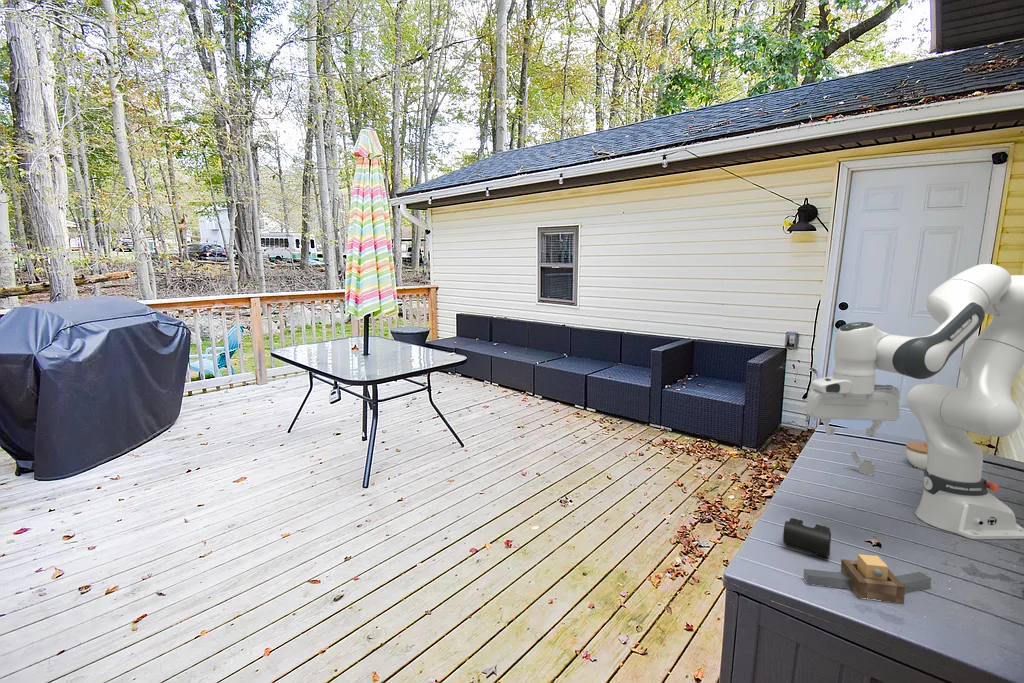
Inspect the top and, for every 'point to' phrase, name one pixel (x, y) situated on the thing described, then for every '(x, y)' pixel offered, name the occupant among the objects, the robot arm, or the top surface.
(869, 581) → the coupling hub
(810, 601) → the top surface
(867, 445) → the top surface
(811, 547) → the end cap
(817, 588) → the top surface
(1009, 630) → the top surface
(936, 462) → the robot arm
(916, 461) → the lidded jar
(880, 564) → the block
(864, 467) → the lighter
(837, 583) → the steel shafts
